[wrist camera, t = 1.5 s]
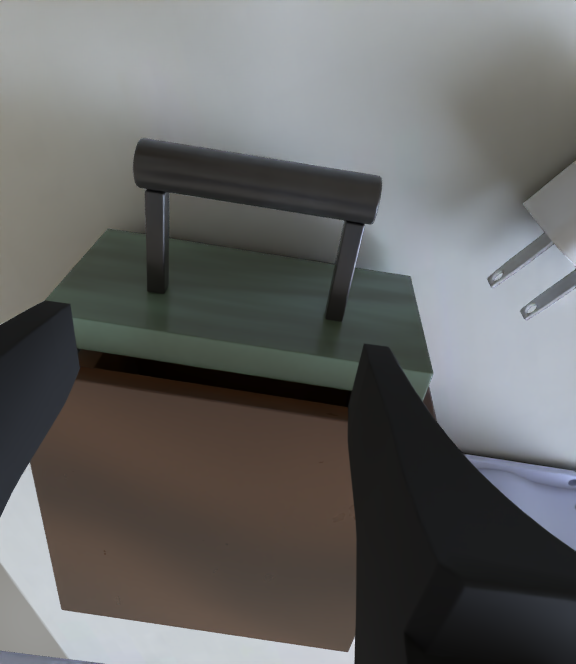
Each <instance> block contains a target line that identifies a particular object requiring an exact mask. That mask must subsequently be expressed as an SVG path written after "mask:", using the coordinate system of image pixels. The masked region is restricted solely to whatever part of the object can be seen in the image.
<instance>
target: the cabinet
mask: <svg viewBox="0 0 576 664" xmlns="http://www.w3.org/2000/svg"><path fill="white" fill-rule="evenodd" d="M80 350H81V349H78V348H77V352H78V353H79V352H80ZM423 403H424V404H425V406H426V407H427V409H428V410H429V412H430V413H431V414H432V416H433V417H434V419H435V420H436V415H435V411H434V406H433V402H432V397H431V392H430V388H429V387H428V389H427V392H426V394H425V397H424V400H423ZM30 464H31V469H32V474H33V478H34V483H35V488H36V492H37V497H38V502H39V506H40V511H41V516H42V520H43V525H44V530H45V534H46V539H47V544H48V549H49V553H50V558H51V563H52V567H53V572H54V577H55V581H56V586H57V591H58V595H59V600H60V605H61V609H62V610H67V611H73V612H80V613H87V614H94V615H100V616H107V617H114V618H121V619H127V620H134V621H141V622H147V623H154V624H161V625H168V626H174V627H181V628H188V629H195V630H201V631H208V632H215V633H222V634H228V635H235V636H242V637H249V638H255V639H262V640H269V641H275V642H282V643H289V644H296V645H302V646H309V647H316V648H323V649H329V650H336V651H343V652H348V651H349V648H350V646H351V644H352V641H353V639H354V637H355V627H356V521H355V511H354V501H353V491H352V481H351V471H350V461H349V451H348V407H344V406H337V405H331V404H324V403H318V402H311V401H305V400H298V399H292V398H286V397H279V396H273V395H266V394H260V393H253V392H247V391H240V390H234V389H227V388H221V387H214V386H208V385H202V384H195V383H189V382H182V381H176V380H169V379H163V378H156V377H150V376H143V375H137V374H130V373H124V372H118V371H111V370H105V369H98V368H92V367H85V366H80V370H79V372H78V375H77V377H76V380H75V382H74V384H73V387H72V389H71V391H70V394H69V396H68V398H67V400H66V403H65V405H64V406H63V408H62V410H61V411H60V413H59V415H58V416H57V418H56V420H55V421H54V423H53V425H52V426H51V428H50V430H49V431H48V433H47V435H46V436H45V438H44V439H43V441H42V443H41V444H40V446H39V448H38V449H37V451H36V453H35V454H34V456H33V457H32V459H31V461H30Z"/></svg>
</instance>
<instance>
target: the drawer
mask: <svg viewBox="0 0 576 664" xmlns="http://www.w3.org/2000/svg"><path fill="white" fill-rule="evenodd" d="M133 173H134V180H135V183H136V185H137V186H138V187H139V188H144V189H146V191H145V218H146V234H140V233H133V232H127V231H121V230H114V229H107V230H106V231H105V233H104V234H103V235H102V236H101V237H100V238H99V239H98V241H97V242H96V243H95V244H94V245H93V246H92V247H91V248H90V250H89V251H88V252H87V253H86V254H85V255H84V256H83V258H82V259H81V260H80V261H79V262H78V263H77V264H76V265H75V267H74V268H73V269H72V270H71V271H70V272H69V273H68V275H67V276H66V277H65V278H64V279H63V280H62V281H61V282H60V284H59V285H58V286H57V287H56V288H55V289H54V290H53V292H52V293H51V294H50V295H49V296H48V297H47V298H46V301H54V302H61V303H68V304H71V311H72V318H73V325H74V332H75V338H76V345H77V348H78V349H81V350H80V352H79V353H78V359H79V366H85V367H92V368H98V369H105V370H111V371H118V372H124V373H130V374H137V375H143V376H150V377H156V378H163V379H169V380H176V381H182V382H189V383H195V384H202V385H208V386H214V387H221V388H227V389H234V390H240V391H247V392H253V393H260V394H266V395H273V396H279V397H286V398H292V399H298V400H305V401H311V402H318V403H324V404H331V405H337V406H344V407H348V404H349V400H350V396H351V392H352V389H353V385H354V381H355V377H356V373H357V369H358V365H359V361H360V357H361V353H362V349H363V345H364V343H365V344H373V345H380V346H388V347H389V348H390V349H391V351H392V352H393V354H394V356H395V357H396V359H397V361H398V363H399V364H400V366H401V368H402V370H403V371H404V373H405V375H406V376H407V378H408V380H409V381H410V383H411V384H412V386H413V388H414V389H415V391H416V392H417V394H418V395H419V397H420V398H421V400H422V401H423V400H424V397H425V394H426V392H427V389H428V387H429V384H430V381H431V379H432V376H433V370H432V366H431V362H430V357H429V353H428V349H427V345H426V340H425V336H424V332H423V328H422V323H421V319H420V315H419V311H418V306H417V302H416V298H415V294H414V289H413V285H412V281H411V277H410V276H405V275H399V274H392V273H386V272H380V271H373V270H367V269H361V268H355V266H356V262H357V258H358V254H359V249H360V245H361V241H362V237H363V232H364V228H365V224H373V222H374V220H375V218H376V215H377V212H378V208H379V203H380V198H381V191H382V178H381V177H380V176H377V175H371V174H365V173H358V172H352V171H346V170H340V169H334V168H327V167H321V166H315V165H309V164H302V163H296V162H290V161H284V160H278V159H271V158H265V157H259V156H253V155H247V154H240V153H234V152H228V151H222V150H215V149H209V148H203V147H197V146H191V145H184V144H178V143H172V142H166V141H159V140H153V139H147V138H142V139H140V140H139V142H138V144H137V146H136V149H135V154H134V161H133ZM169 193H176V194H182V195H188V196H195V197H201V198H207V199H213V200H220V201H226V202H232V203H238V204H245V205H251V206H257V207H263V208H270V209H276V210H282V211H289V212H295V213H301V214H307V215H314V216H320V217H326V218H332V219H339V220H344V224H343V228H342V233H341V238H340V243H339V247H338V252H337V257H336V262H335V264H329V263H323V262H317V261H310V260H304V259H298V258H291V257H285V256H279V255H272V254H266V253H260V252H253V251H247V250H241V249H234V248H228V247H222V246H216V245H209V244H203V243H197V242H190V241H184V240H178V239H171V238H169Z"/></svg>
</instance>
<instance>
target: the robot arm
mask: <svg viewBox="0 0 576 664" xmlns="http://www.w3.org/2000/svg"><path fill="white" fill-rule="evenodd" d="M79 370H80V366H79V359H78V352H77V345H76V338H75V332H74V325H73V318H72V311H71V304H68V303H61V302H54V301H46V300H45V301H43V302H41V303H39V304H37V305H35V306H33V307H31V308H30V309H28V310H26V311H24V312H22V313H21V314H19V315H17V316H15V317H14V318H12V319H10V320H8V321H7V322H5V323H3V324H1V325H0V517H1V515H2V512H3V510H4V508H5V506H6V504H7V502H8V500H9V498H10V495H11V493H12V492H13V490H14V488H15V486H16V484H17V482H18V481H19V479H20V477H21V475H22V474H23V472H24V470H25V469H26V467H27V466H28V464H29V462H30V461H31V459H32V457H33V456H34V454H35V453H36V451H37V449H38V448H39V446H40V444H41V443H42V441H43V439H44V438H45V436H46V435H47V433H48V431H49V430H50V428H51V426H52V425H53V423H54V421H55V420H56V418H57V416H58V415H59V413H60V411H61V410H62V408H63V406H64V405H65V403H66V400H67V398H68V396H69V394H70V391H71V389H72V387H73V384H74V382H75V380H76V377H77V375H78V372H79ZM348 451H349V461H350V471H351V481H352V491H353V501H354V511H355V521H356V627H355V664H576V471H572V470H566V469H559V468H553V467H546V466H540V465H533V464H527V463H520V462H514V461H507V460H501V459H494V458H488V457H481V456H475V455H468V454H463V453H462V452H461V451H460V450H459V449H458V448H457V446H456V445H455V444H454V443H453V442H452V441H451V439H450V438H449V437H448V436H447V434H446V433H445V432H444V430H443V429H442V428H441V427H440V425H439V424H438V423H437V421H436V420H435V419H434V417H433V416H432V414H431V413H430V412H429V410H428V409H427V407H426V406H425V404H424V403H423V401H422V400H421V398H420V397H419V395H418V394H417V392H416V391H415V389H414V388H413V386H412V384H411V383H410V381H409V380H408V378H407V376H406V375H405V373H404V371H403V370H402V368H401V366H400V364H399V363H398V361H397V359H396V357H395V356H394V354H393V352H392V351H391V349H390V348H389V347H388V346H380V345H373V344H365V343H364V345H363V349H362V353H361V357H360V361H359V365H358V369H357V373H356V377H355V381H354V385H353V389H352V392H351V396H350V400H349V404H348ZM0 664H103V663H95V662H87V661H79V660H71V659H63V658H54V657H47V656H38V655H30V654H23V653H15V652H6V651H0Z"/></svg>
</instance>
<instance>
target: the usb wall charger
mask: <svg viewBox="0 0 576 664" xmlns="http://www.w3.org/2000/svg"><path fill="white" fill-rule="evenodd" d="M523 205H524V206H525V208H526V209H527V210H528V211H529V213H530V214H531V215H532V216H533V218H534V219H535V220H536V222H537V223H538V224H539V225H540V227H541V228H542V229H543V231H544V232H545V233H544V234H542V235H541V236H540V237H539V238H537V239H536V240H535V241H533V242H532V243H531V244H529V245H528V246H527V247H526V248H524V249H523V250H522V251H520V252H519V253H518V254H516V255H515V256H514V257H513V258H511V259H510V260H509V261H507V262H506V263H505V264H504V265H502V266H501V267H500V268H499V269H498V270H496V271H495V272H494V273H493V274H492V275H490V276H489V277H488V279H487V280H488V282H489V284H490V286H491V288H495V287H496V286H498V285H499V284H501V283H502V282H504V281H505V280H506V279H508V278H509V277H511V276H512V275H514V274H515V273H516V272H518V271H519V270H520V269H522V268H523V267H524V266H526V265H527V264H528V263H530V262H531V261H532V260H534V259H535V258H536V257H538V256H539V255H540V254H542V253H543V252H544V251H546V250H547V249H548V248H550V247H551V246H552V245H554V244H555V245H556V246H557V247H558V248H559V250H560V251H561V252H562V253H563V254H564V255H565V256H566V257H567V258H568V259H569V261H570V262H571V263H572V264H573V265H574V266H575V267H576V160H575V161H574V162H573V163H572V164H571V165H569V166H568V167H567V168H566V169H564V170H563V171H562V172H561V173H560V174H558V175H557V176H556V177H555V178H553V179H552V180H551V181H550V182H549V183H547V184H546V185H545V186H544V187H542V188H541V189H540V190H539V191H538V192H536V193H535V194H534V195H533V196H531V197H530V198H529V199H528V200H527V201H525V202H524V203H523ZM501 273H503V275H502V277H501V278H500V279H498V280H496V281H494V280H495V278H496V277H497V276H498V275H499V274H501ZM575 288H576V269H575V270H574V271H572V272H571V273H570V274H568V275H567V276H565V277H564V278H563V279H561V280H560V281H558V282H557V283H556V284H554V285H553V286H551V287H550V288H548V289H547V290H546V291H544V292H543V293H541V294H540V295H539V296H537V297H536V298H535V299H534V300H532V301H531V302H530V303H528V304H527V305H526V306H525V307H523V308H522V309H521V310H520V312H521V314H522V315H523V317H524V319H525V320H529V319H530V318H532V317H533V316H535V315H537V314H538V313H540V312H541V311H543V310H545V309H546V308H548V307H549V306H551V305H552V304H554V303H555V302H556V301H558V300H559V299H561V298H562V297H564V296H565V295H567V294H568V293H569V292H571V291H572V290H574V289H575ZM535 305H537V307H536V309H535V310H534V311H533V312H531V313H527V312H528V310H529V309H530V308H531V307H532V306H535Z"/></svg>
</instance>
